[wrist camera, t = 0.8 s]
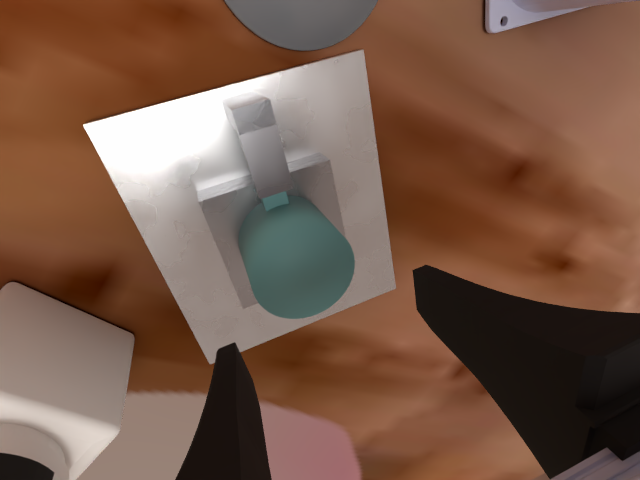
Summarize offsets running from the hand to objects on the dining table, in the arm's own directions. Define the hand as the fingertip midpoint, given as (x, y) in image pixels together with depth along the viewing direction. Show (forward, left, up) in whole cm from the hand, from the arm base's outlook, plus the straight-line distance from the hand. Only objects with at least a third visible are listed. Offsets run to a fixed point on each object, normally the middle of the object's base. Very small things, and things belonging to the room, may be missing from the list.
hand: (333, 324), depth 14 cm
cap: (0, -1, -8) cm, 8 cm away
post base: (0, 0, -10) cm, 10 cm away
